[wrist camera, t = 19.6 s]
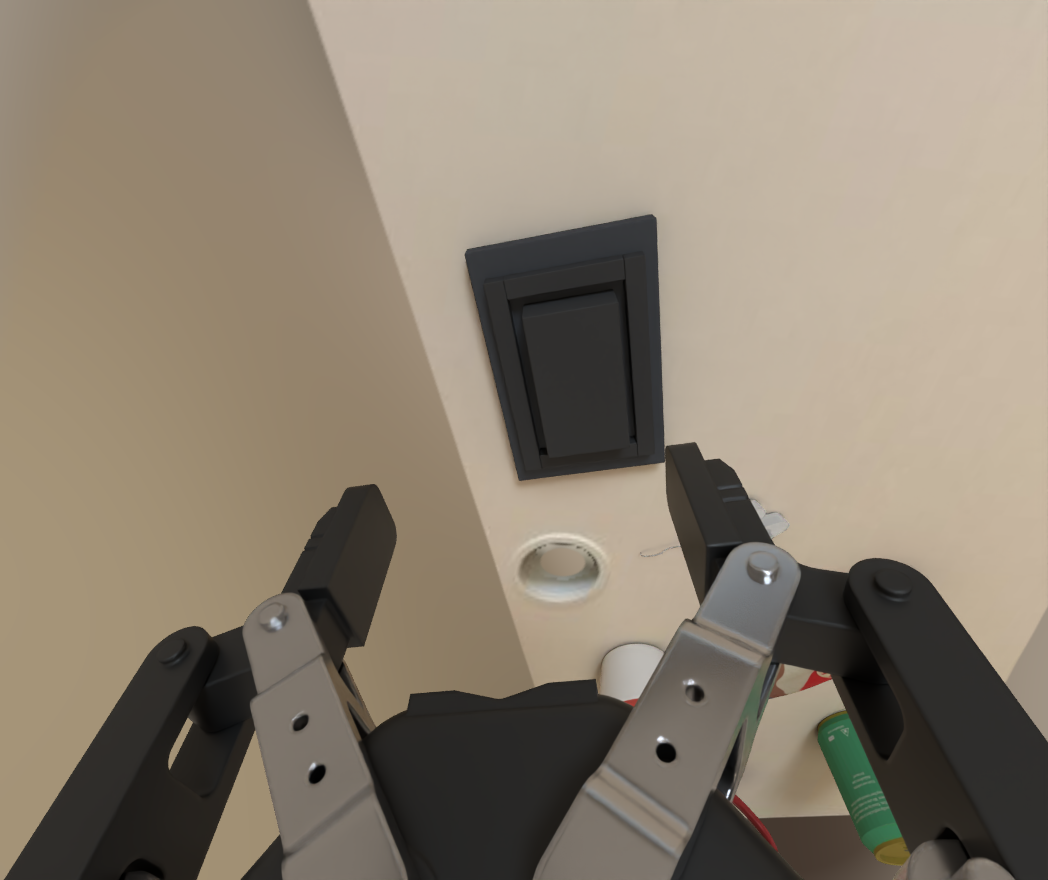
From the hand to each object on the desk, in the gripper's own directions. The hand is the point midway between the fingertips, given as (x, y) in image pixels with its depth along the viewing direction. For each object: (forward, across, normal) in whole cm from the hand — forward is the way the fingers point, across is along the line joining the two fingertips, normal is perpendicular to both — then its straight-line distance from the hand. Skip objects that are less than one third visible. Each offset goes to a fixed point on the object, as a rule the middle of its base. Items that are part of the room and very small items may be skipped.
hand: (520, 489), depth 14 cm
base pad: (+20, -2, +6) cm, 21 cm away
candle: (+20, -4, +42) cm, 46 cm away
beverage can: (+19, -28, +58) cm, 67 cm away
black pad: (+19, -2, +6) cm, 20 cm away
